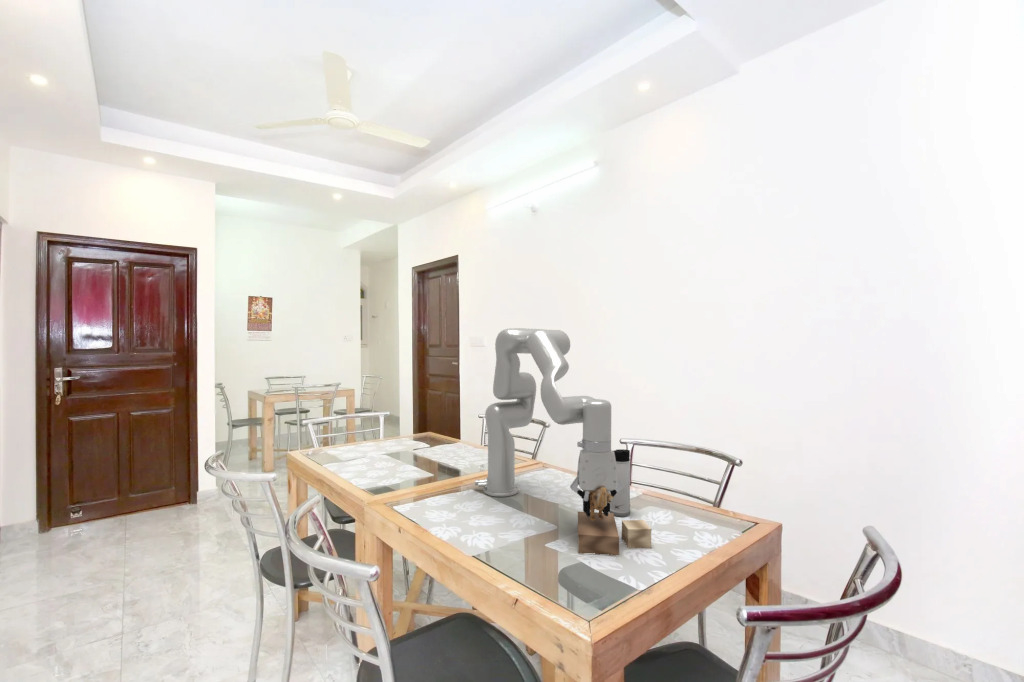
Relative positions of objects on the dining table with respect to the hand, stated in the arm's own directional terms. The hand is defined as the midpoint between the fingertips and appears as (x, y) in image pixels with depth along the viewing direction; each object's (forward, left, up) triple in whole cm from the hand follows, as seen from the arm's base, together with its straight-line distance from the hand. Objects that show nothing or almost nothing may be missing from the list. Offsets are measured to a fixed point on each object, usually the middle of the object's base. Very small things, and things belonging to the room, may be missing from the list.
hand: (596, 513), depth 122 cm
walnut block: (0, 0, -8) cm, 8 cm away
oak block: (+10, -2, -7) cm, 13 cm away
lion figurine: (0, +1, -1) cm, 2 cm away
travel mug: (+12, +19, -7) cm, 24 cm away
